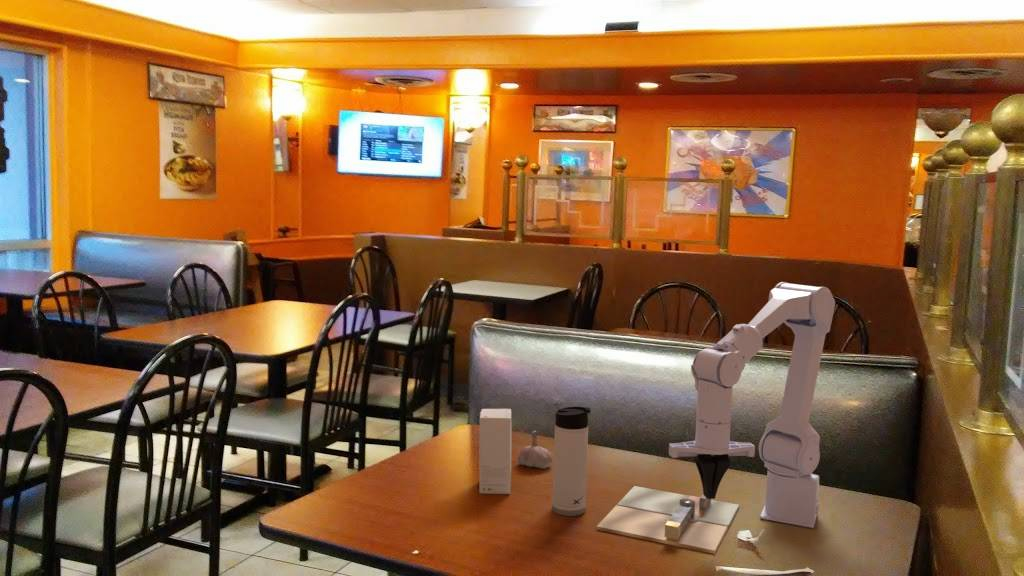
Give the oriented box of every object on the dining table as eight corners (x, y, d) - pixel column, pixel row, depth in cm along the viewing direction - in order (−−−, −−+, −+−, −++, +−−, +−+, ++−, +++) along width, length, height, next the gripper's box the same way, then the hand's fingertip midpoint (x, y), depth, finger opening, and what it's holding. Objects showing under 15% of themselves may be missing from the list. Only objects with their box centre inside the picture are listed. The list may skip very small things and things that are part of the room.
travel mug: (585, 518, 151) (588, 413, 149) (550, 514, 153) (553, 410, 150) (588, 505, 157) (592, 404, 155) (555, 502, 159) (558, 402, 156)
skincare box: (510, 495, 162) (511, 418, 160) (476, 494, 162) (478, 418, 160) (511, 480, 170) (512, 407, 169) (479, 479, 170) (480, 406, 169)
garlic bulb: (511, 464, 181) (512, 429, 180) (537, 458, 185) (538, 424, 184) (532, 474, 175) (533, 438, 174) (558, 468, 179) (559, 432, 178)
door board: (738, 507, 158) (739, 490, 158) (714, 553, 138) (715, 534, 137) (634, 488, 167) (634, 472, 167) (596, 529, 146) (597, 511, 146)
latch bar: (681, 511, 153) (681, 497, 153) (696, 513, 152) (696, 500, 151) (662, 536, 141) (663, 522, 141) (678, 540, 140) (679, 525, 140)
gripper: (745, 413, 144) (740, 487, 145) (664, 413, 142) (661, 488, 144) (761, 424, 137) (756, 502, 138) (677, 425, 135) (673, 504, 137)
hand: (709, 496), depth 140 cm, fingers closed
